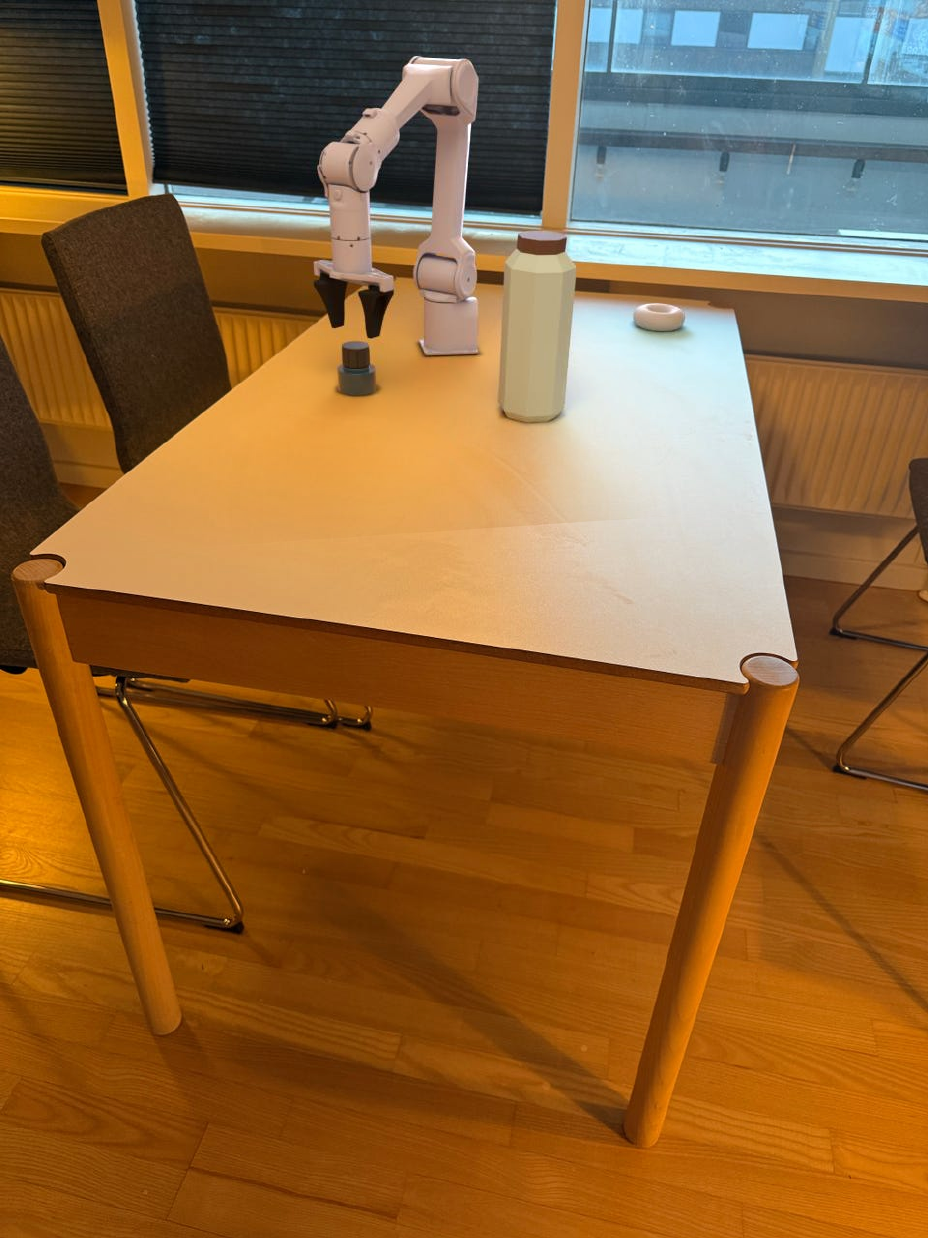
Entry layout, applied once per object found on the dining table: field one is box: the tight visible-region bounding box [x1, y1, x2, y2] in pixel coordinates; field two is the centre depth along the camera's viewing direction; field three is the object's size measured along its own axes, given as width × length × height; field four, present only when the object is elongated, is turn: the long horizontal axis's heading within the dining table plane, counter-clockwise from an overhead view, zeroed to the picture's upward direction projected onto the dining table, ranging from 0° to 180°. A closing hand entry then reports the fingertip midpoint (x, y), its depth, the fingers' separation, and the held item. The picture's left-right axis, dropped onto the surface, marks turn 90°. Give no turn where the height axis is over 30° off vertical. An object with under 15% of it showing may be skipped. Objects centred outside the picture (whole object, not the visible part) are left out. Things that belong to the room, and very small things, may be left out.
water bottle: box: [497, 230, 578, 424], centre depth 127 cm, size 10×10×25 cm
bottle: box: [336, 363, 377, 397], centre depth 139 cm, size 6×6×6 cm
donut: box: [632, 303, 686, 332], centre depth 173 cm, size 10×4×10 cm
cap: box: [341, 340, 371, 368], centre depth 137 cm, size 4×4×3 cm
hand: (355, 331), depth 136 cm, fingers open, 7 cm apart
